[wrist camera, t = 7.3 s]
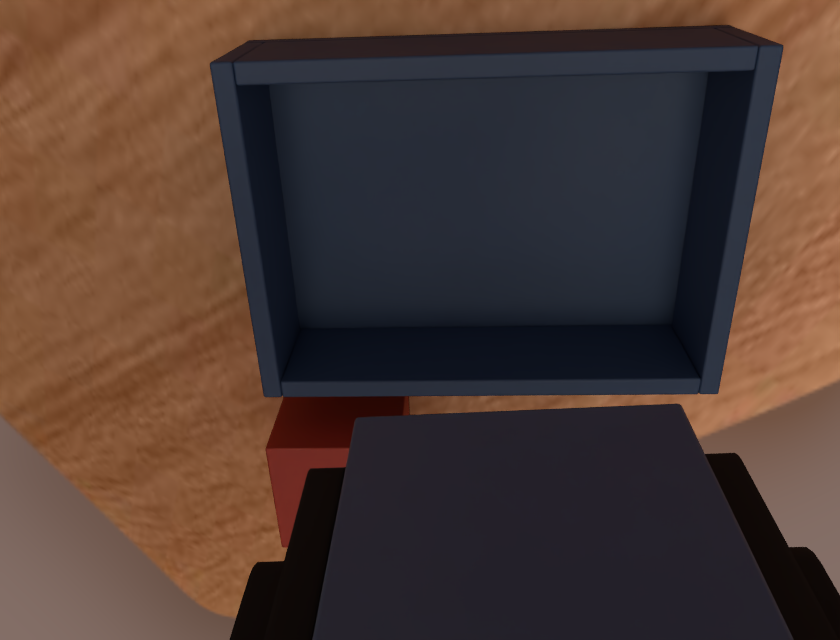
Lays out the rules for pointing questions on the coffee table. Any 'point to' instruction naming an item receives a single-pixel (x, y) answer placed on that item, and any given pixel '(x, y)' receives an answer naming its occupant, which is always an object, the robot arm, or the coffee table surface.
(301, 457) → the red block
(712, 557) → the blue block
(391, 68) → the blue bin
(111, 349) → the coffee table surface
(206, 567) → the coffee table surface
